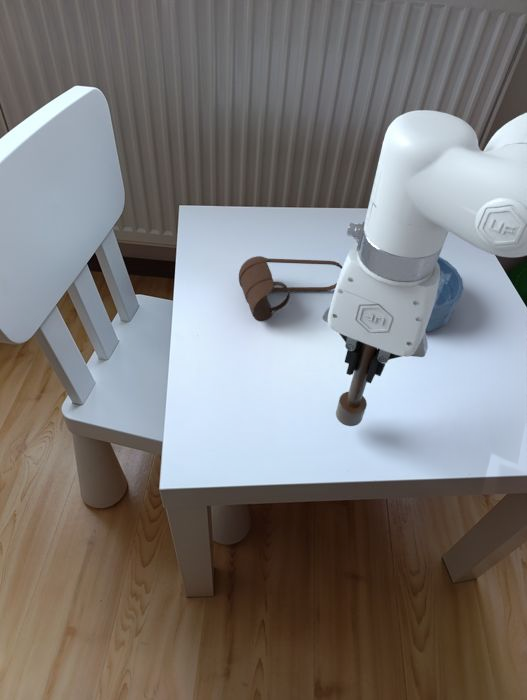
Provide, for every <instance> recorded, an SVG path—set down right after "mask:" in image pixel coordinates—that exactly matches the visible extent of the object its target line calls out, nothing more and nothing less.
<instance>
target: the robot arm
mask: <svg viewBox="0 0 527 700" xmlns="http://www.w3.org/2000/svg"><path fill="white" fill-rule="evenodd" d="M375 171H376V172H375V176H374V180H373V185H372V189H371V193H370V197H369V201H368V207H367V211H366V215H365V220H363V222H362V223H360V222H359V223H356V222H353V221H352V222H350V223H349V225H348V228H347V230H346V235H347V236H348V237H351V238H353V239H354V240H356V243H355V244H354V246H353V247H352V248H351V249H350V250H349V252H348V254H347V256H346V258H345V260H344V262H343V265H342V269H340V273H339V276H338V279H337V282H336V283H337V285H336V288H335V289H334V292H333V295H332V299H331V302H330V305H329V306H328V307H327V309H326V310H325V311H324V313H323V315H322V317H321V318H322V320H323V321H324V322H325V323H327V324H328V326H329V328H331V329H332V331H335V332H336V333H337V334H339V336H340V337H341V339H343V341H344V342H345V344H344V347H345V349H346V353H345V354H346V355H345V359H344V363H345V364H348V366H347V369H346V373H345V374H346V375H348V376H353V375H354V371H355V368H356V365H357V361H358V358H359V354H360V351H361V346H362V343H365V344H368V345H370V346H373V347H376V348H377V351H376V353H375V355H374V357H373V359H372V361H371V365H370V368H369V371H368V374H367V377H366V381H367V383H369V384H372V383H373V380H374V378H375V375H376V376H378V377H381V376H382V373H383V371H384V369H385V366H386V364H387V363H388V362H389V361H390V360H393V359H397V358H403V357H405V358H406V357H416V358H424V357H425V356H426V354H427V351H428V348H429V345H428V339H427V331H426V327H427V325H428V322H429V319H430V316H431V313H432V310H433V306H434V303H435V299H436V295H437V290H438V285H439V278H440V266H439V264H438V262H437V261H438V258H439V257H440V255H441V252H442V249H443V248H444V244H445V242H446V239H447V237H448V233H451V234H452V235H453V236H456V237H458V238H459V239H461V240H463V241H464V242H466V243H468V244H470V245H471V246H473V247H474V248H477V249H478V250H481V251H483V252H486V253H488V254H491V255H494V256H498V257H502V258H522V257H526V256H527V112H524V113H522V114H520V115H518V116H517V117H515V118H513V119H512V120H510V121H508V122H507V123H505V124H504V125H503V126H501V127H500V128H499V129H497V130H496V132H495V133H494V134H493V136H491V138H490V140H489V141H488V143H487V144H486V145H485V147H484V149H483V150H481V148H480V146H479V139H478V136H477V133H476V131H475V130H474V128H473V127H472V126H471V125H470V124H469V123H468V122H467V121H465V120H464V119H462V118H461V117H457V116H455V115H453V114H449V113H447V112H443V111H438V110H430V109H429V110H427V109H423V110H420V109H419V110H411V111H408V112H405V113H403V114H401V115H399V116H397V117H396V118H395V119H394V120H392V122H391V123H390V124H389V126H388V127H387V130H386V132H385V134H384V138H383V141H382V146H381V149H380V154H379V158H378V163H377V168H376V170H375Z"/></svg>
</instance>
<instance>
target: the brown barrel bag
mask: <svg viewBox="0 0 527 700" xmlns="http://www.w3.org/2000/svg"><path fill="white" fill-rule="evenodd" d="M268 263H270V264H271V263H272V264H275V263H276V264H277V263H278V264H299V265H300V264H301V265H302V264H303V265H329V266H336V267H337V268H340V270H342V267H343V265H341V263H339V262H337V261H335V260H334V261H333V260H321V259H320V260H319V259H295V258H269V257H268V258H267V257H265V256H260V255H259V256H258V255H257V256H252V257H250V258H248V259H247V260H245V261H244V262H243V263H242V265H241V266H240V269H239V271H238V282H239V286H240V287H241V290H242V292H243V295H244V299H245V301H246V303H247V304H248V307H249V309H250V312H251V316H252V317H253V318H254V319H255V320H256V321H257V322H265V321H267V320H270V319H271V318H272V317H273V312H277V311H279V310H280V309H282V308H283V307H285V306H286V305H287V304H288V302H289V301H290V297H291V293H290V292H326V291H332V290H335V288H336V285H337V282H335V283H334V284H332V285H329V286H296V287H295V286H293V287H292V286H291V287H288V286H287V285H286V284H285V283H284V282H280V281H274V279H273V274H272V271H271V268H270V267H269V265H268ZM271 292H287V294H286V297H285V299H283V301H282V302H280V303H279V304H277V305H275V306H272V305H271V303H270V300H269V298H268V295H269V294H270V293H271Z"/></svg>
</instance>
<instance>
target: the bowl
mask: <svg viewBox="0 0 527 700" xmlns="http://www.w3.org/2000/svg"><path fill="white" fill-rule="evenodd" d="M437 262H438V264H439V266H440V278H439V285H438V290H437V295H436V299H435V303H434V306H433V310H432V313H431V316H430V319H429V322H428V325H427V327H426V332H431V331H434V330H437V329H440V328H442V327H444V326H445V325H446V324H447V323H448V322H449V321H450V320H451V318H452V316H453V314H454V312H455V310H456V308H457V305H458V303H459V301H460V299H461V297H462V294H463V292H464V282H463V278H462V276H461V275H460V273H459V271H458V270H457V269H456V267H454V266H453V265H452V264H451V263H450V262H449V261H448V260H446V259H445V258H442V257H441V256H439V258H438V261H437Z"/></svg>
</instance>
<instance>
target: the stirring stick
mask: <svg viewBox="0 0 527 700" xmlns="http://www.w3.org/2000/svg"><path fill="white" fill-rule="evenodd" d="M377 349H378V348H376V347H373V346H370V345H368V344H365V343H362V346H361V351H360V354H359V358H358V361H357V365H356V368H355V371H354V373H353V375H352V378H351V382H350V385H349V389H348V391H345V392H343V393H342V394H341V395H340V396H339V400H338V403H337V406H336V411H335V416H336V419H337V420H338V422H339V423H340V424H342V425H344V426H346V427H355V426H357V425H359V424H361V422H362V421H363V418H364V415H365V413H366V409H367V406H368V404H367V400H366V398H365V397H364V392H365V388H366V386H367V383H368V382H367V381H366V377H367V374H368V371H369V368H370V365H371V361H372V359H373V357H374V355H375V353H376V351H377Z"/></svg>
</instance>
